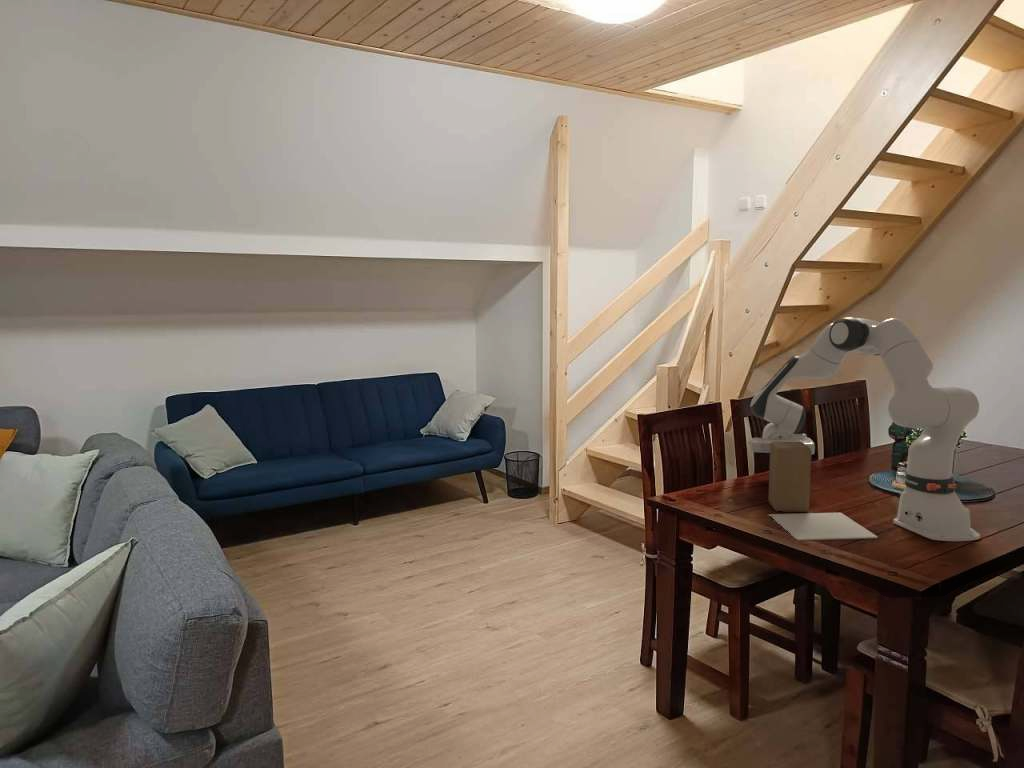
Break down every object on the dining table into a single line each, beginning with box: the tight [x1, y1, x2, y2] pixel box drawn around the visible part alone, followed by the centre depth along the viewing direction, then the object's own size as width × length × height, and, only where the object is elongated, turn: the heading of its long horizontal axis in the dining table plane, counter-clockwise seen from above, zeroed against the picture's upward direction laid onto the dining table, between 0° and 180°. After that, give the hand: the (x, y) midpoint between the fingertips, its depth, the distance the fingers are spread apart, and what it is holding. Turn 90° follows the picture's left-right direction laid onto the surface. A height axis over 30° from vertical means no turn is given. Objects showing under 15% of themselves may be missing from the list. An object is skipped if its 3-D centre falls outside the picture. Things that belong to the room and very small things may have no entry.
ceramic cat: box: [887, 421, 914, 469], centre depth 264 cm, size 20×6×20 cm, turn 37°
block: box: [767, 441, 812, 513], centre depth 224 cm, size 10×10×20 cm
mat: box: [767, 512, 879, 541], centre depth 208 cm, size 21×22×1 cm
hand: (784, 451), depth 236 cm, fingers closed
